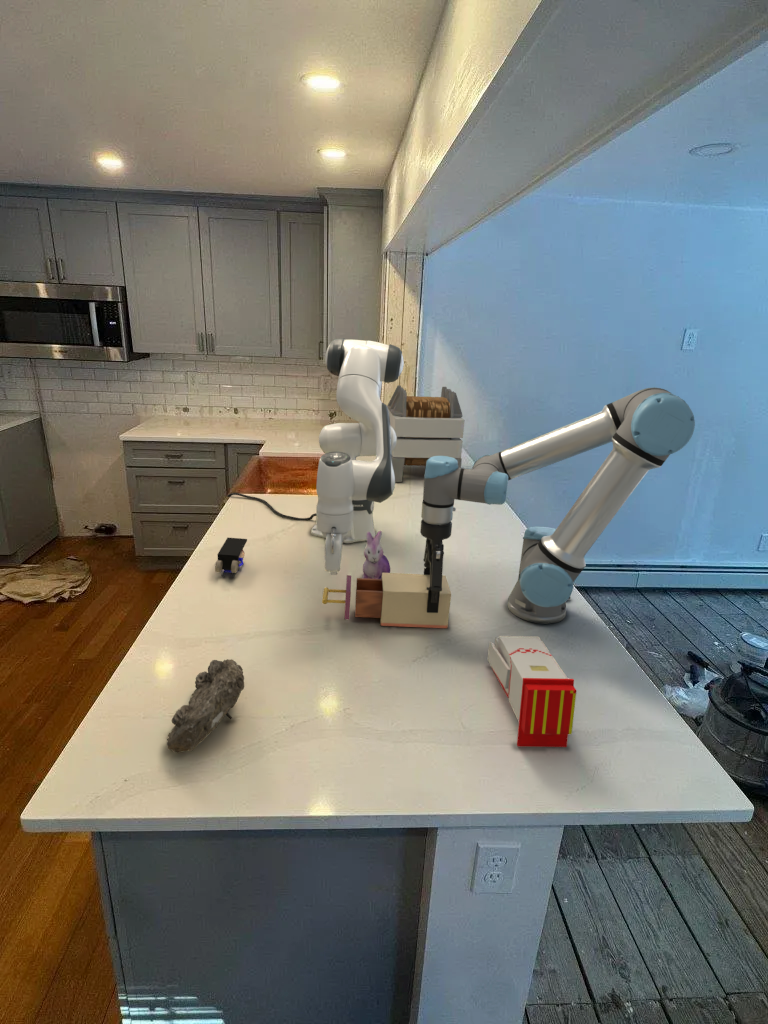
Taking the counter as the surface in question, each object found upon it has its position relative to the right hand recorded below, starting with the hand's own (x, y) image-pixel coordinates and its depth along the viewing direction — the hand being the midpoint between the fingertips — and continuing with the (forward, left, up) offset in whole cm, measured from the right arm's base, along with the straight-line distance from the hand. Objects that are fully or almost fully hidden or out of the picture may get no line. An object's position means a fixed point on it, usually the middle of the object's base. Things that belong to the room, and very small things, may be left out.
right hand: (429, 601), depth 145 cm
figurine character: (+51, -34, -5) cm, 61 cm away
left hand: (+24, -4, +8) cm, 26 cm away
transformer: (-32, -133, -5) cm, 137 cm away
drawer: (+16, -3, -3) cm, 17 cm away
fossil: (+51, +31, -5) cm, 60 cm away
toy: (-11, +34, -5) cm, 36 cm away
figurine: (+10, -22, -5) cm, 25 cm away
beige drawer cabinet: (+4, -1, -5) cm, 6 cm away
